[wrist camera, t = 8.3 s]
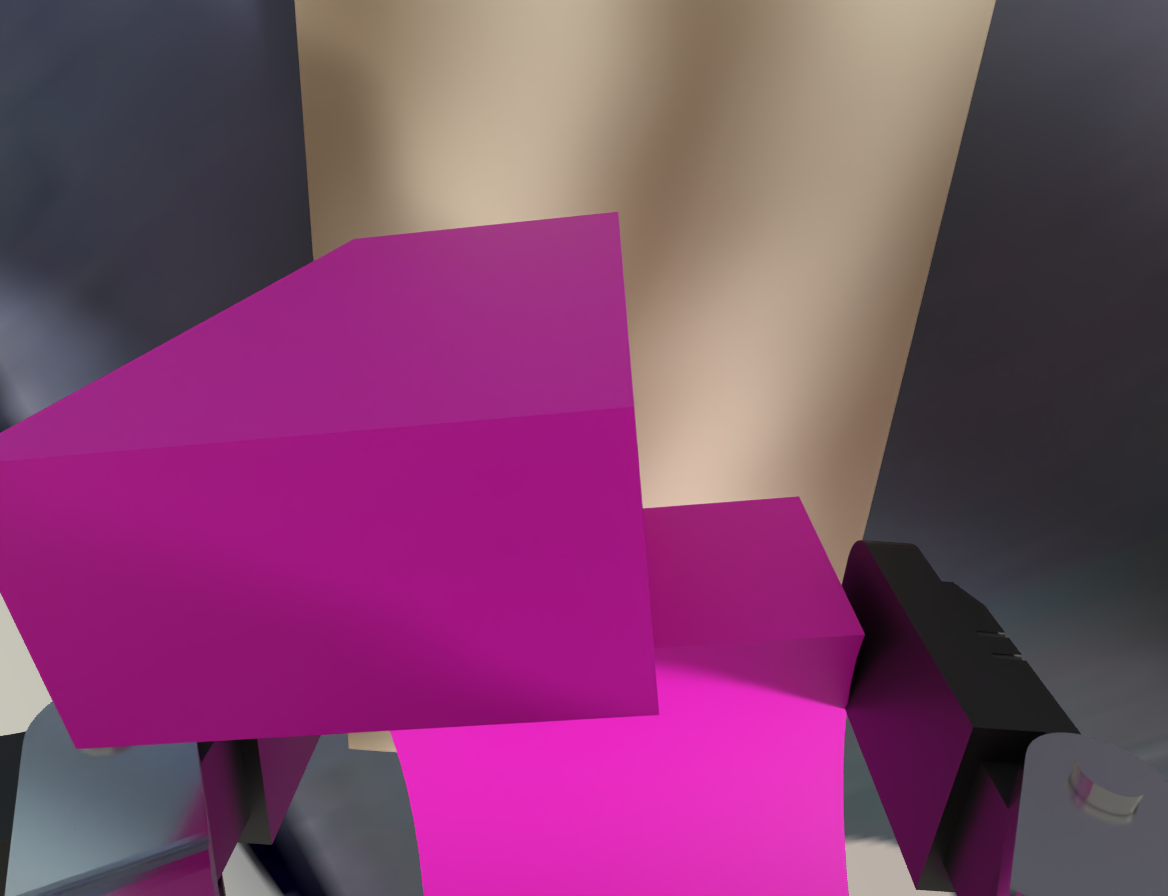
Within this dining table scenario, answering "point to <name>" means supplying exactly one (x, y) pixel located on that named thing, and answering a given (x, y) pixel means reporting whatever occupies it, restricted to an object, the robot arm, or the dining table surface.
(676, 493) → the oak board
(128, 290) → the dining table surface
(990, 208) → the dining table surface
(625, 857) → the magenta cradle block
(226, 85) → the dining table surface
